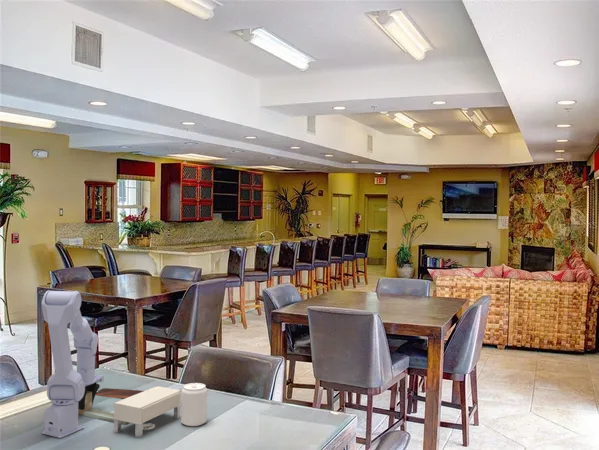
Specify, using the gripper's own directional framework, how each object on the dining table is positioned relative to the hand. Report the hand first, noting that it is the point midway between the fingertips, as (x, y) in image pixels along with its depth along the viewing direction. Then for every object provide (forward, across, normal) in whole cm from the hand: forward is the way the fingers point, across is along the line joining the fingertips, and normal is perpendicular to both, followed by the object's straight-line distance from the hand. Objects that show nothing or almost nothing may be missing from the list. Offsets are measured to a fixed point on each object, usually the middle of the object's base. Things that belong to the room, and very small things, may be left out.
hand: (85, 407), depth 187 cm
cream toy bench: (+2, -2, +26) cm, 26 cm away
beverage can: (+2, -10, +38) cm, 39 cm away
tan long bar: (+2, 0, +9) cm, 9 cm away
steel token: (+2, 0, +27) cm, 27 cm away
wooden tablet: (+3, -22, -2) cm, 22 cm away
